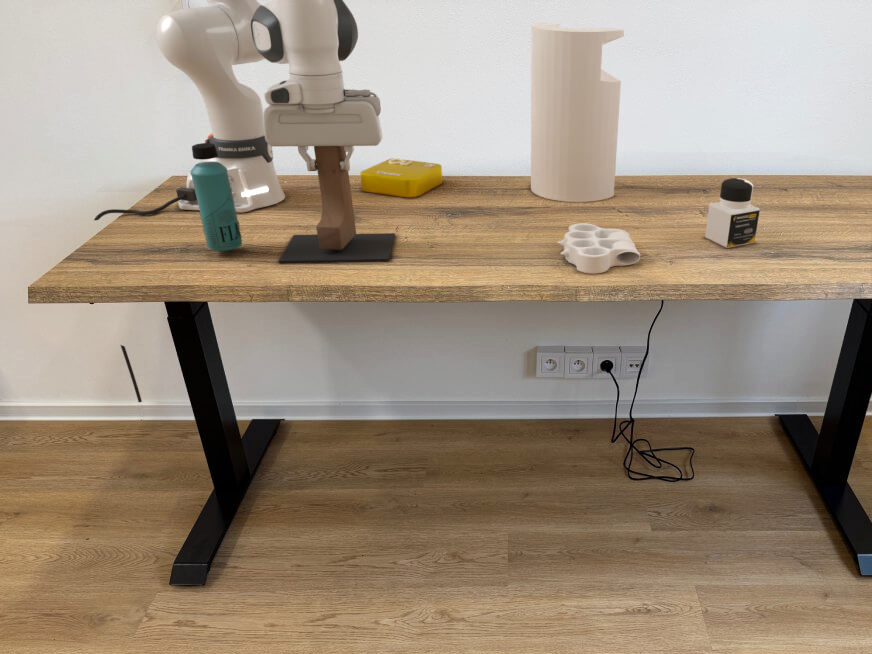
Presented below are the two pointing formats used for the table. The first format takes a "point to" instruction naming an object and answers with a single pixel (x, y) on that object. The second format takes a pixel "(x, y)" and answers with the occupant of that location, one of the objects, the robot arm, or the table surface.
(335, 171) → the wooden block
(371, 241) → the desk mat
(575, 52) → the beige notched cylinder
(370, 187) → the element tile
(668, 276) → the table surface
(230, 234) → the beverage bottle
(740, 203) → the medicine bottle
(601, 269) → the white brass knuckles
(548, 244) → the table surface
